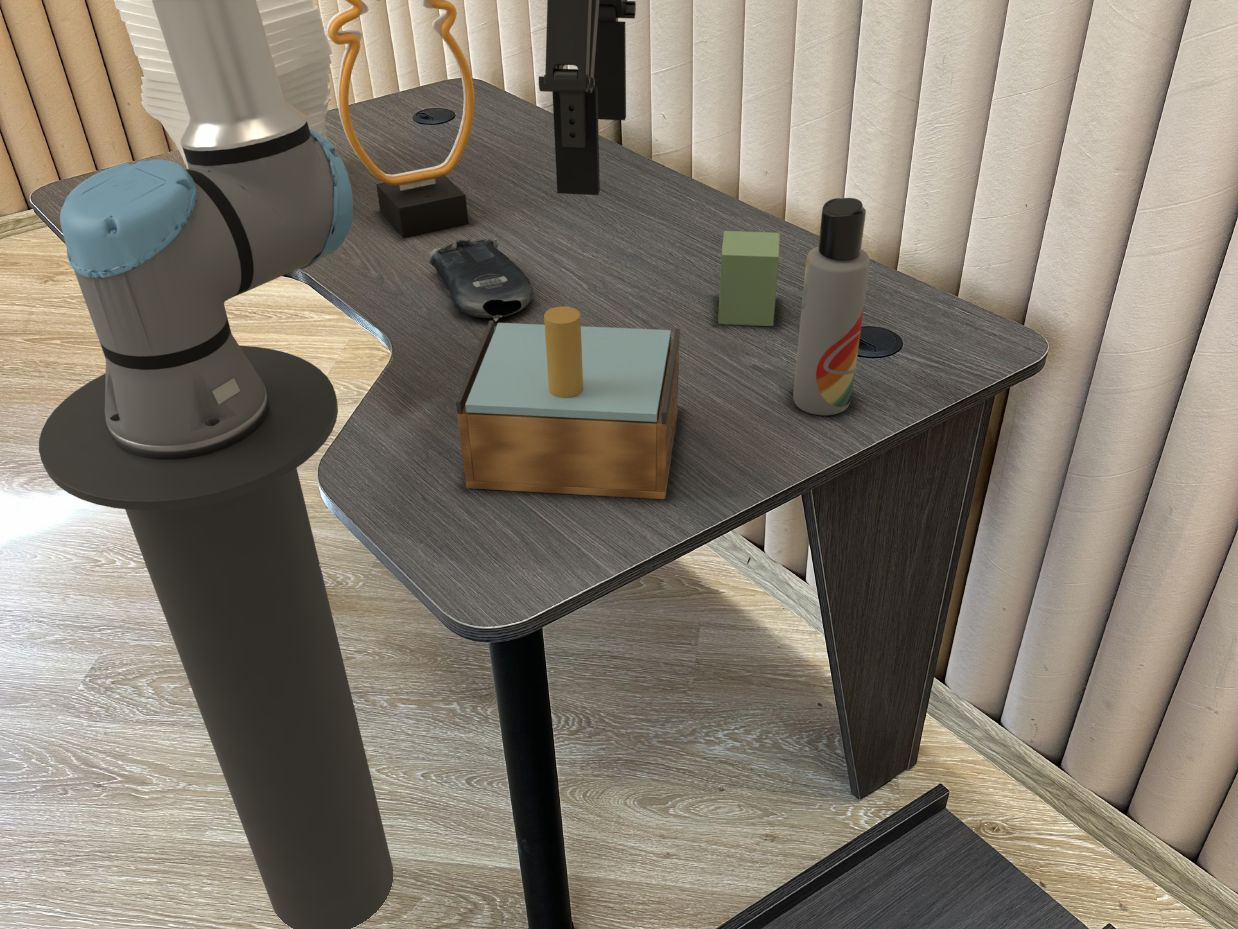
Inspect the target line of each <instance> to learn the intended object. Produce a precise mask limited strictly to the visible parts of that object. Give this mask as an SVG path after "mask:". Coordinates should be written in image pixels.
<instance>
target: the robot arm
mask: <svg viewBox="0 0 1238 929" xmlns="http://www.w3.org/2000/svg"><path fill="white" fill-rule="evenodd" d="M546 2H547V4H546V32H545V33H546V35H545V36H546V39H545V46H546V47H545V70H544V71H545V72H544V75H543V76H542V75H541V76H538V89H539V92H545V93H546V92H547V93H552V111H553V134H554V135H553V136H554V154H555V173H556V176H555V177H556V194H560V195H561V194H562V195H563V194H564V195H583V196H584V195H587V196H599V195H600V191H601V184H600V181H601V180H600V178H601V176H600V175H601V174H600V136H599V134H600V133H599V120H604V121H626V118H627V63H626V62H627V53H626V52H627V49H626V48H627V47H626V46H627V44H626V42H627V41H626V39H627V38H626V36H627V35H626V32H627V31H626V21H620V20H619V19H632V20H633V19H636V10H637V4H636V3H637V1H636V0H547V1H546ZM152 3H153V6H154V9H155V12H156V15H157V18H158V21H159V24H160V27H161V30H162V33H163V36H164V39H165V42H166V45H167V49H168V52H169V55H170V58H171V61H172V64H173V67H174V70H175V73H176V76H177V79H178V82H179V85H180V88H181V91H182V94H183V97H184V100H185V103H186V107H187V110H188V113H189V116H190V122H189V125H188V127H187V129H186V131H185V133H184V135H183V137H182V138H181V145H182V148H183V151H184V154H185V157H186V160H187V163H188V169H187V168H185V167H184V166H182V165H181V164H179V163H177V162H174V161H172V160H167V159H159V158H158V159H157V158H156V159H155V158H154V159H152V158H151V159H141V160H139V161H138V162H136V163H132V164H131V163H129V162H124V163H120V164H118V165H114V166H111V167H109V168H106V169H103V170H101V171H99V172H97V173H95V174H93V175H92V176H90V177H87V178H86V179H84V180H83V181H81V182H80V183H79V184H78V185H76V186H75V187H74V188H73V189H72V190H71V191H70V193H68V195H67V196H66V198H65V200H64V202H63V205H62V207H61V210H60V213H59V223H60V228H61V232H62V235H63V239H64V243H65V247H66V254H67V255H66V256H67V260H68V263H69V265H70V266H71V268H72V270H73V271H74V275H75V277H76V280H77V283H78V285H79V288H80V291H81V293H82V296H83V299H84V302H85V304H86V307H87V310H88V313H89V316H90V319H91V321H92V324H93V328H94V330H95V333H96V336H97V339H98V342H99V344H100V347H101V350H102V353H103V355H104V359H105V373H106V380H105V416H106V423H107V426H108V429H109V431H110V434H111V437H112V439H113V440H114V442H115V443H116V444H117V445H118V446H119V447H120V448H122V449H123V450H125V451H127V452H129V453H132V454H134V455H138V456H142V457H146V458H154V459H181V458H190V457H196V456H200V455H205V454H209V453H212V452H215V451H218V450H221V449H224V448H226V447H229V446H231V445H233V444H235V443H237V442H239V441H241V440H242V439H244V438H246V437H247V436H249V435H250V434H251V433H253V432H254V431H255V430H256V429H257V428H258V427H259V426H260V425H261V424H262V423H263V421H264V420H265V418H266V416H267V414H268V411H269V401H268V397H267V393H266V389H265V386H264V384H263V382H262V379H261V378H260V376H259V375H258V373H257V372H256V371H255V369H254V367H253V366H252V364H251V363H250V361H249V360H248V358H247V356H246V355H245V353H244V352H243V350H242V349H241V347H240V346H241V345H239V343H238V342H237V339H236V338H235V337H234V335H233V333H232V329H231V326H230V321H229V318H228V315H227V310H226V305H225V303H226V302H227V301H228V300H231V299H233V298H234V297H237V296H239V295H242V294H244V293H247V292H249V291H251V290H253V289H256V288H258V287H260V286H262V285H265V284H267V283H269V282H272V281H275V280H276V279H279V278H281V277H283V276H285V275H288V274H290V273H292V272H295V271H297V270H303V269H306V268H309V267H311V266H313V265H315V264H316V263H317V262H318V261H320V260H321V259H323V258H324V257H325V258H326V257H327V256H329V255H330V254H332V253H335V251H337V250H338V249H340V247H341V246H342V245H343V244H344V242H345V239H346V237H347V236H348V235H349V233H350V230H351V228H352V227H351V226H352V224H353V223H352V222H353V217H354V216H353V215H354V199H353V198H354V197H353V190H352V185H351V181H350V177H349V174H348V170H347V168H346V166H345V163H344V162H343V159H342V158H341V156H337V155H336V148H335V146H334V145H333V144H332V143H331V141H330V140H329V139H328V137H327V138H325V137H324V136H323V135H321V134H320V133H318V132H316V131H314V130H310V129H309V126H308V123H307V119H306V116H305V115H304V114H303V113H301V112H300V111H298V110H297V109H296V108H294V107H293V106H291V105H290V104H288V103H287V102H286V101H285V100H284V98H283V94H282V91H281V87H280V84H279V80H278V77H277V73H276V69H275V66H274V62H273V59H272V55H271V52H270V48H269V44H268V41H267V37H266V34H265V30H264V27H263V23H262V19H261V16H260V12H259V9H258V5H257V2H256V0H152ZM565 66H574V67H577V68H564V67H565Z"/></svg>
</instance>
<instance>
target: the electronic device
mask: <svg viewBox="0 0 1238 929" xmlns="http://www.w3.org/2000/svg"><path fill="white" fill-rule="evenodd" d="M499 245H500V242H498V240H497V238H495V237H488V238H484V239H479V240H474V241H472V240H471V239H459V240H456V241H455V246H454V243H449V244H447V245H445V246H443V247H438V248H434V249H432V251H431V252H430V253H429V260H428V261H429V262H428V263H429V264H430V265H431V266H432V267H433V268H434V269H435V271H436V272H437V274H438V276H439V277H440V279H441V281H442V283H443V284H444V285H445V287H446V289H447V290H448V291H449V293H450V300H451V301H452V303H453V304H454V306H455V308H456V309H457V310H458V311H460V312H461V313H464V314H465V315H467V316H470V317H473V318H479V319H493V321H494V323H495V322H497V321H499V319H500V318H504V317H509V316H512V315H514V314H517V313H518V312H520V311H522V310H523V309H525V308H526V307H527V306H528V305H529V304H530V303H531V301H532V299H533V297H534V290H533V286H532V282H531V280H530V278H529V277H528V276H527V275H526V273H524V272H523V271H522V269H521V268H520V267H519V266H518V265H517V264H516V263H515V262H513V260H511V259H510V258H509V257H508V256H507V255H506V254H505V253H504V252H502V251H500V249H498V248H499Z"/></svg>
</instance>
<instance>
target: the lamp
mask: <svg viewBox="0 0 1238 929" xmlns="http://www.w3.org/2000/svg"><path fill="white" fill-rule="evenodd" d="M345 1H346V2H347V3H348V4H350V6H349V7H348V8H346V9H343V10H341V11H339V12H337V13H336V14H334V15H333V16H332V17H331V18H330V19H329V21H328V23H327V25H326V29H325V31H326V36H327V38H329V40H331V41H332V43H334V44H336V45H340V46H341V45H343V46H344V45H346V46H345V49H344V51H343V54H342V57H341V61H340V66H339V71H338V78H337V79H338V80H337V91H336V93H337V94H336V96H337V98H336V99H337V109H338V115H339V118H340V123H341V127H342V129H343V132H344V135H345V137H346V139H347V141H348V143H349V145H350V147H351V148H352V150H353V152H354V153H355V155H356V156H357V158H358V159H359V161H360V162H361V163H362V164H363V165H364V167H365V168H366V169H367V170H368V172H370V173H371V174H372V175H373V176H374V177H375V178H376V179H378V180H379V181H380V182H379V183H376V192H377V198H378V205H379V212H380V214H381V215H382V216H383V217H384V218H385V219H386V220H387V221H388V223H389V224H390V225H391V226H392V227H393V228H394V229H395V231H397V233H398V234H399V235H400V236H401V237H402V238H403V239H405V238H410V237H414V236H418V235H424V234H427V233H432V232H437V231H442V230H445V229H451V228H455V227H459V226H464V225H469V215H468V206H467V205H468V204H467V196H466V194H465V193H464V191H463V190H461V188H459V187H458V186H457V185H456V184H455V183H454V182H452V180H450V178H449V177H448V176H446V175H448V174H450V173H451V172H452V171H453V170H454V169H455V168H456V166H457V165H458V164H459V162H460V161H461V158H462V156H463V154H464V152H465V149H466V147H467V144H468V141H469V139H470V136H471V132H472V128H473V123H474V116H475V107H476V106H475V103H476V101H475V99H476V98H475V87H474V82H473V77H472V72H471V69H470V67H469V63H468V61H467V59H466V56H465V55H464V53H463V51H462V49H461V47H460V45H459V44H458V42H457V41H456V39H455V37H454V36H453V34H452V33H451V32H450V30H451V29H452V27H453V26H454V24H455V22H456V20H457V14H458V13H457V12H458V11H457V8H456V6H455V5H454V4H453V3H452V2H451V1H450V0H421V1H420V2H421V6H423V7H424V8H425V9H437V10H443V11H444V12H443V13H442V14H440V15H439V16H438V17H436V18H435V19H434V20H432V22H431V27H432V29H433V30H434V31H435V32H436V33H437V34H438V36H439V37H441V38H442V40H443V41H444V42H445V45H446V46H447V47H448V49H449V50H450V52H451V54H452V57H453V58H454V60H455V63H456V65H457V68H458V70H459V74H460V78H461V83H462V91H463V105H462V116H461V120H460V125H459V128H458V132H457V135H456V138H455V141H454V143H453V146H452V148H451V151H450V152H449V154H448V155H447V157H446V159H445V160H443V162H442V163H440V164H438V165H435V166H431V167H426V168H420V169H415V170H411V171H405V172H401V173H400V172H399V173H394V174H390V173H385V172H383V171H382V170H381V169H379V168H378V166H377V165H376V164H375V163H374V162H373V161H372V159H371V158H370V156H369V155H368V154H367V152H366V151H365V149H364V148H363V147H362V144H361V142H360V140H359V139H358V137H357V134H356V132H355V129H354V125H353V121H352V118H351V112H350V105H349V104H350V103H349V101H350V100H349V92H350V91H349V90H350V83H351V77H352V73H353V69H354V66H355V63H356V60H357V57H358V55H359V53H360V50H361V41H362V38H363V33H362V32H361V31H360V30H357V29H347V30H346V29H345V30H341V28H342V27H343V26H345V25H346V24H348V23H349V22H352V21H355V20H356V19H358V18H359V17H361V16H362V15H364V14H367V13H368V11H369V7H368V4H366V3H365V2H364V1H363V0H345ZM380 1H381V0H377V2H380Z"/></svg>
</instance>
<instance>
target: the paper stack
mask: <svg viewBox="0 0 1238 929" xmlns="http://www.w3.org/2000/svg"><path fill="white" fill-rule="evenodd" d="M256 2H257V5H258V9H259V12H260V16H261V19H262V23H263V27H264V30H265V34H266V37H267V41H268V44H269V48H270V52H271V55H272V59H273V62H274V66H275V69H276V73H277V77H278V80H279V84H280V87H281V91H282V94H283V98H284V100H285V101H286V102H287V103H288V104H290V105H291V106H293V107H294V108H296V109H297V110H298V111H300V112H301V113H303V114H304V115H305V116H306V119H307V123H308V126H309V129H310V130H314V131H316V132H318V133H320V134H321V135H323V136H324V137H325V138H327V139H328V137H327V130H326V127H327V126H326V116H327V115H328V114H329V111H330V108H328V107H329V103H330V101H331V100H332V96H331V86H330V85H328V84H329V83H330V81H331V80H330V75H329V74H331V72H332V71H331V67H330V65H331V64H332V59H331V55H332V54H333V51H332V48H331V44H330V42H329V39H328V35H327V33H325V31H326V30H325V26H324V24H323V19H322V16H321V15H320V10H319V7H318V6H317V5H316V4H314V2H313V0H256ZM113 3H114V7H115V10H118V13H119V17H120V20H121V22H124V25H125V28H126V32H127V34H128V37H129V40H130V44H131V46H132V48H133V52H134V55H135V57H137V61H138V64H139V67H140V68H141V71H142V74H143V76H141V77H140V79H141V82H142V84H141V85H140V88H141V93H140V97H141V99H142V100H141V101H140V104H141V106H142V107H143V108H144V111H145V112H146V113H147V114H148V115H150V116H151V117H152V118H153V119H155V120H157V121H159V122H160V124H161V125H162V127H163V128H164V130H165V131H166V132H167V134H168V135H169V137H170V139H171V140H172V141H173V142H174V144H175V146H176V148H177V149H178V151H179V154H180V156H181V158H182V160H183V163H184V164H185V167H186V169H188V163H187V160H186V157H185V154H184V151H183V148H182V145H181V138H182V137H183V135H184V133H185V131H186V129H187V127H188V125H189V122H190V116H189V113H188V110H187V107H186V103H185V100H184V97H183V94H182V91H181V88H180V85H179V82H178V79H177V76H176V73H175V70H174V67H173V64H172V61H171V58H170V55H169V52H168V49H167V45H166V42H165V39H164V36H163V33H162V30H161V27H160V24H159V21H158V18H157V15H156V12H155V9H154V6H153V3H152V0H113Z"/></svg>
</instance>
